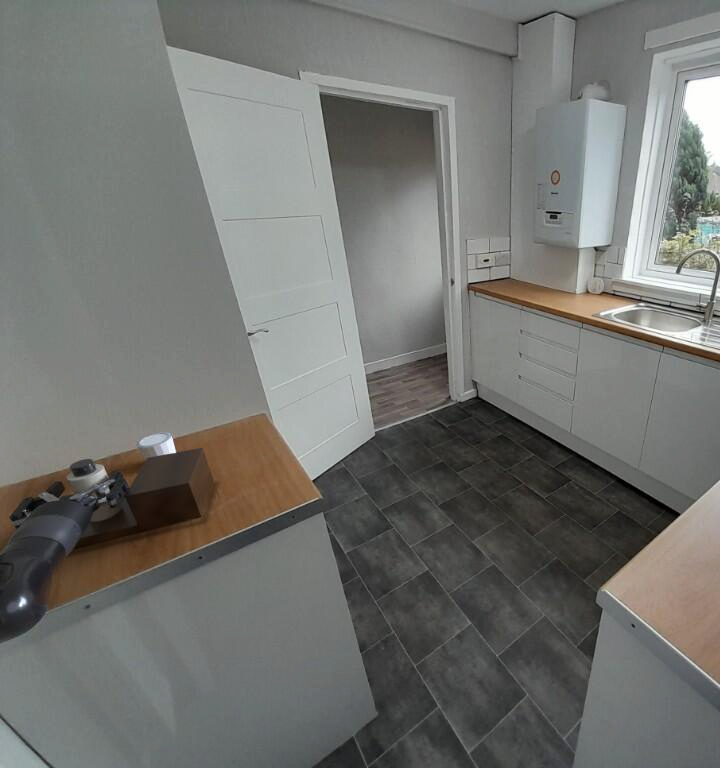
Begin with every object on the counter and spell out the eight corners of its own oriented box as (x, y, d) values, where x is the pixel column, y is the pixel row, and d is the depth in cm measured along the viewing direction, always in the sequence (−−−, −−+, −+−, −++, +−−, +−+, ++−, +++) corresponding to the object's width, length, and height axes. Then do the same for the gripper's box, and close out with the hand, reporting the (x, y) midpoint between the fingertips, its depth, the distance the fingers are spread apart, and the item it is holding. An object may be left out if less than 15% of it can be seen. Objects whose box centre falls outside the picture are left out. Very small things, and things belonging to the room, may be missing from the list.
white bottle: (82, 524, 80) (55, 474, 75) (94, 508, 84) (69, 459, 79) (116, 517, 82) (93, 467, 77) (126, 501, 86) (104, 453, 81)
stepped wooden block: (61, 556, 76) (37, 514, 72) (93, 509, 88) (73, 471, 84) (203, 521, 85) (188, 482, 81) (214, 483, 97) (202, 447, 92)
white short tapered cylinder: (153, 474, 99) (142, 450, 96) (142, 464, 103) (131, 441, 100) (185, 460, 105) (176, 437, 102) (174, 451, 108) (164, 429, 105)
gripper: (96, 504, 68) (129, 455, 81) (-26, 530, 62) (31, 472, 76) (113, 539, 71) (142, 485, 84) (-2, 566, 65) (49, 504, 79)
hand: (90, 479), depth 80 cm, fingers open, 8 cm apart
